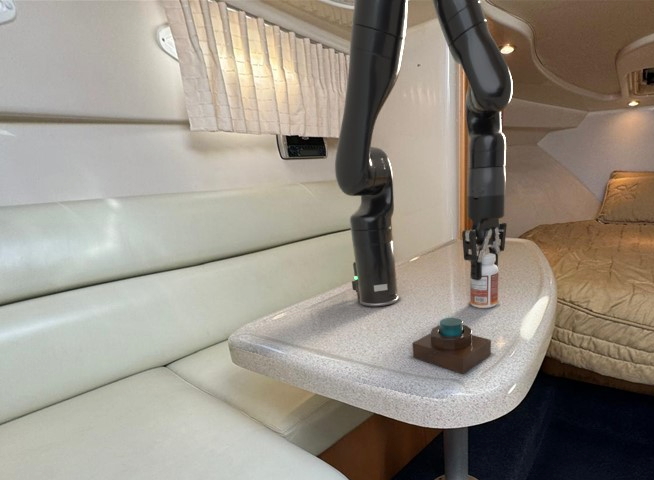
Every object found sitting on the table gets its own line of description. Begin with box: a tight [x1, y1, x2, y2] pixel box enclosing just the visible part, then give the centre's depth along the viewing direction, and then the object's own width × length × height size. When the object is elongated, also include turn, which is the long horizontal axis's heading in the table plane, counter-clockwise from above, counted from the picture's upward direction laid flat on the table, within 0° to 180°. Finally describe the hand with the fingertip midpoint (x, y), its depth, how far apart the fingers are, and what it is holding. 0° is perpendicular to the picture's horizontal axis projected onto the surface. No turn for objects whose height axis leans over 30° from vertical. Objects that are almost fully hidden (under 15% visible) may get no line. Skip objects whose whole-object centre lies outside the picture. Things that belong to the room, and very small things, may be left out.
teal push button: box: [439, 317, 464, 336], centre depth 58 cm, size 4×4×2 cm
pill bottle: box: [469, 252, 499, 309], centre depth 81 cm, size 6×6×11 cm
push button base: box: [412, 324, 492, 375], centre depth 59 cm, size 10×8×4 cm
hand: (484, 275), depth 80 cm, fingers closed on pill bottle, 6 cm apart
